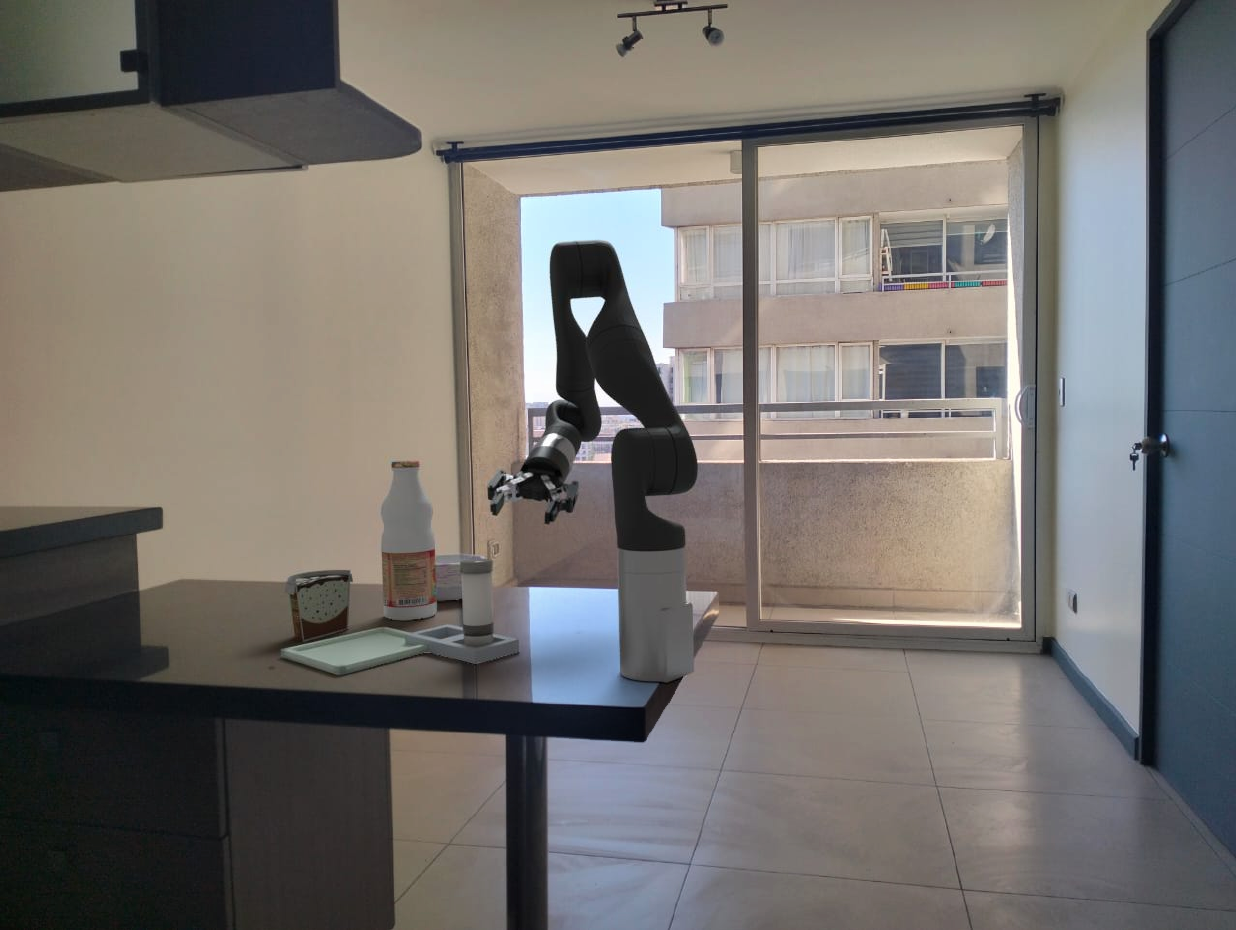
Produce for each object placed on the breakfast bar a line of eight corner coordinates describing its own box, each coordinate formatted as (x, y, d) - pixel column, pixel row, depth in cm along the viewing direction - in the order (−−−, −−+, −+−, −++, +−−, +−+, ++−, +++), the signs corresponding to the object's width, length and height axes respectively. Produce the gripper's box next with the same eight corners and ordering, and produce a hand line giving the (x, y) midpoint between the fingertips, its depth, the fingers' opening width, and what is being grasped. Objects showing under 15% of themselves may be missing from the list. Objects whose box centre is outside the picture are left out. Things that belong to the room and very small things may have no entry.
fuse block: (519, 652, 131) (518, 639, 131) (475, 665, 125) (474, 651, 125) (448, 636, 142) (448, 624, 142) (405, 647, 136) (404, 634, 136)
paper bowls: (501, 592, 180) (500, 553, 179) (462, 607, 166) (460, 565, 165) (437, 588, 185) (436, 551, 185) (394, 602, 171) (393, 562, 171)
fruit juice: (372, 617, 158) (367, 462, 157) (414, 608, 165) (409, 459, 164) (406, 623, 152) (401, 462, 151) (448, 613, 160) (443, 460, 158)
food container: (330, 624, 153) (327, 567, 153) (354, 627, 150) (352, 569, 150) (270, 640, 143) (267, 579, 142) (295, 644, 140) (292, 581, 139)
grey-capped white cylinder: (502, 653, 131) (499, 560, 131) (477, 660, 128) (474, 564, 127) (481, 648, 134) (478, 557, 134) (456, 655, 131) (453, 561, 130)
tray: (444, 648, 135) (444, 640, 135) (339, 675, 121) (339, 667, 121) (384, 633, 145) (383, 626, 145) (281, 657, 132) (281, 649, 132)
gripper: (508, 438, 150) (476, 488, 136) (590, 451, 147) (565, 502, 134) (509, 476, 153) (477, 527, 140) (588, 488, 151) (564, 542, 138)
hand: (520, 515), depth 137 cm, fingers open, 8 cm apart
